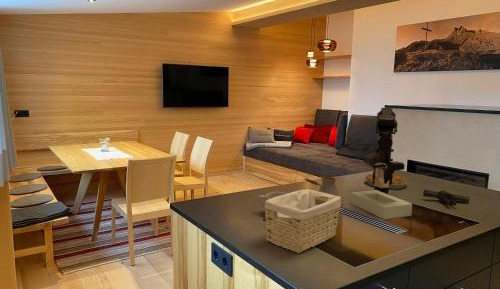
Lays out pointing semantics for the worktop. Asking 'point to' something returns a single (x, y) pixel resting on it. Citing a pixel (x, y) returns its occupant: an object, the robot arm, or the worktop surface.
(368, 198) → the well box
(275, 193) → the teacup
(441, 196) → the black irregular piece
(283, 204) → the storage basket
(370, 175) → the pie
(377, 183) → the wooden block
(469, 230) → the worktop surface
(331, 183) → the coffee pot
